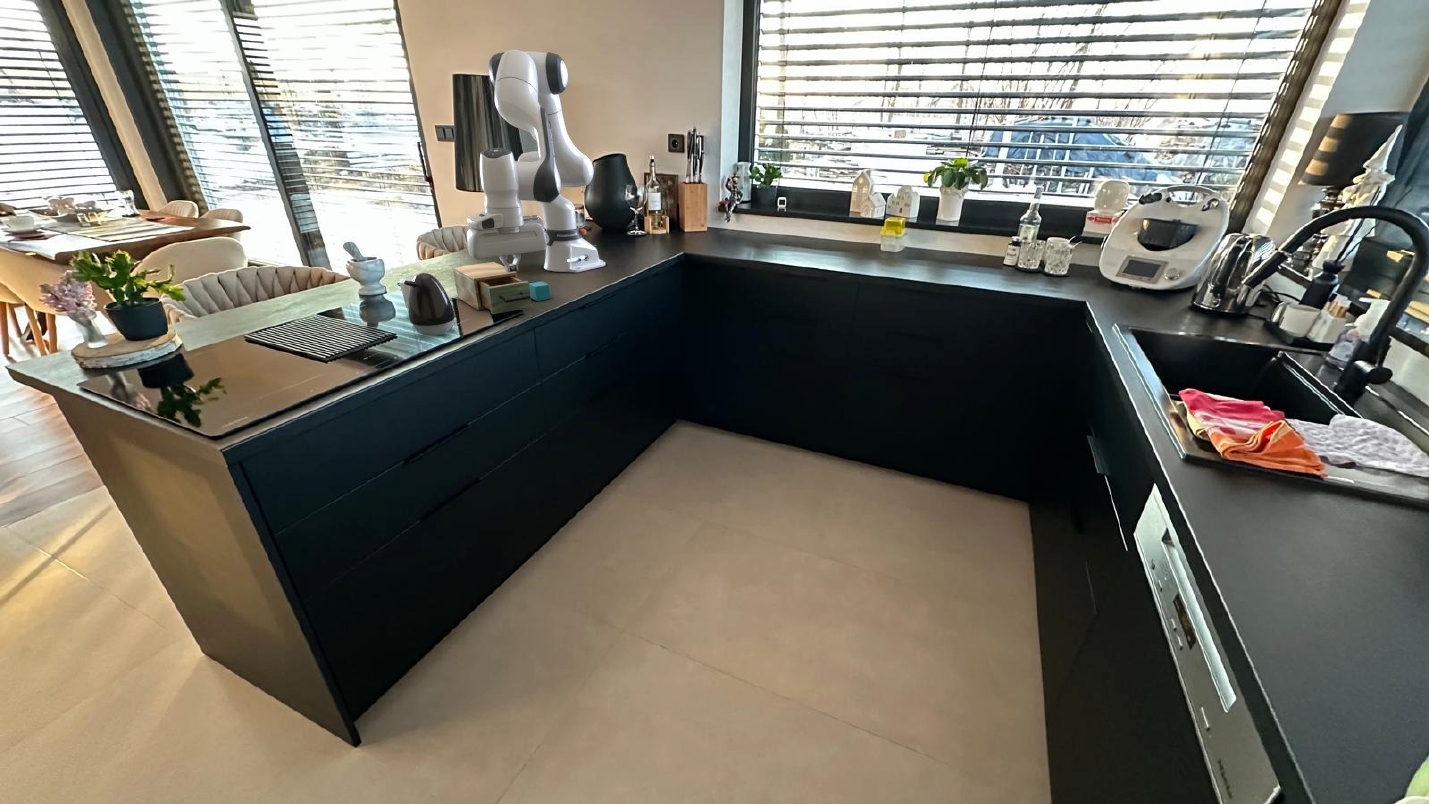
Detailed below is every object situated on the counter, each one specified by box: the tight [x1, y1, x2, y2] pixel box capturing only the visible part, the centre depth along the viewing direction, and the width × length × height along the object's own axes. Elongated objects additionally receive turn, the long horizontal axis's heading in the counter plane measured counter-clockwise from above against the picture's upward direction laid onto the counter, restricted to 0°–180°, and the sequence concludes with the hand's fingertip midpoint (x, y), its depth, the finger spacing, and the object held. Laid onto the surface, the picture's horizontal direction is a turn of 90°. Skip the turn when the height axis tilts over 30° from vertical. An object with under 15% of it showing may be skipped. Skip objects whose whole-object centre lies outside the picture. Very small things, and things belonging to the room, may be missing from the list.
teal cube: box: [529, 281, 551, 302], centre depth 169 cm, size 4×4×4 cm
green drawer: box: [477, 276, 533, 315], centre depth 157 cm, size 19×11×7 cm, turn 43°
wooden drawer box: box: [452, 261, 519, 311], centre depth 165 cm, size 16×13×9 cm
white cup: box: [398, 275, 416, 314], centre depth 149 cm, size 8×8×10 cm
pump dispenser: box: [404, 272, 456, 337], centre depth 137 cm, size 10×10×15 cm
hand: (512, 271), depth 149 cm, fingers closed
